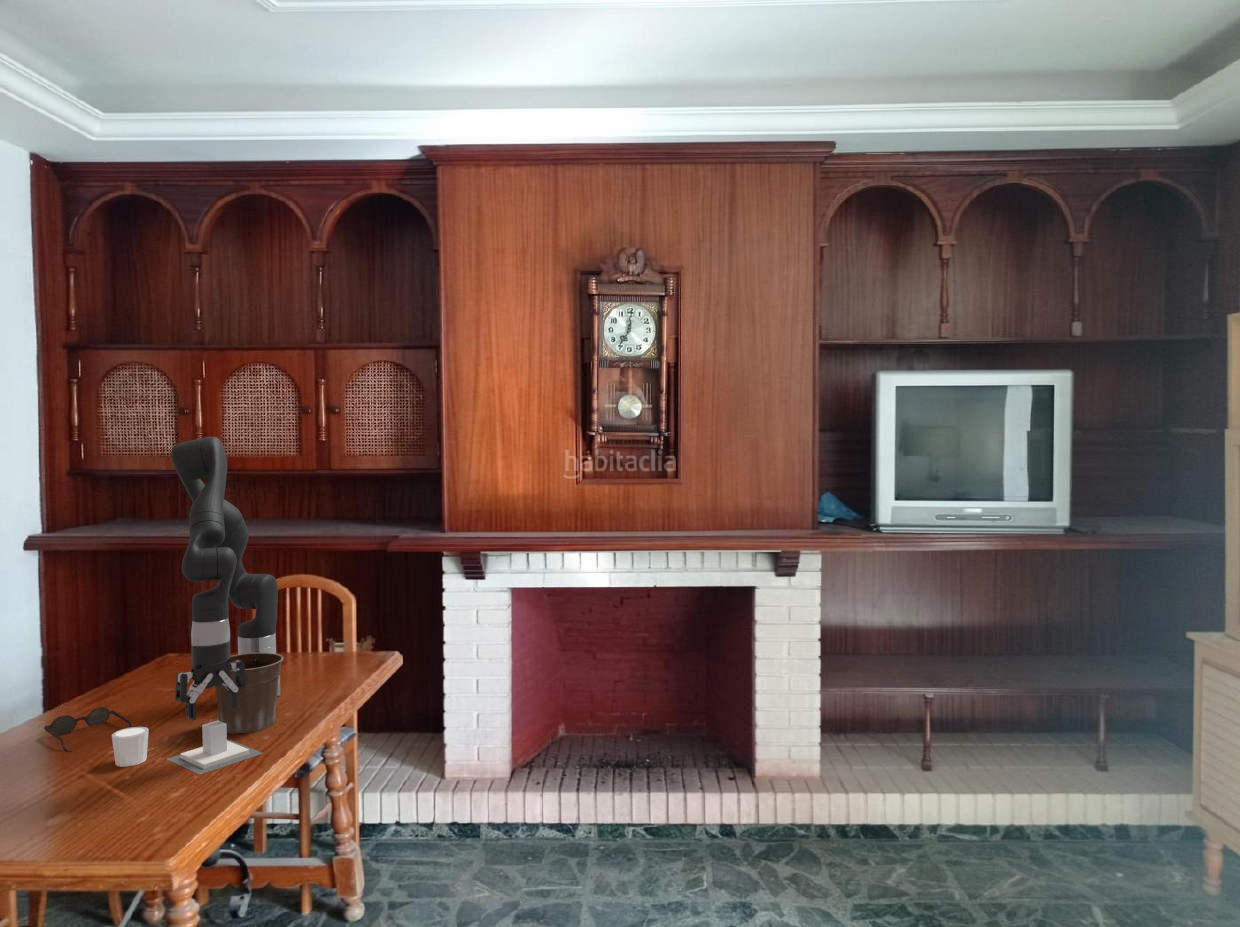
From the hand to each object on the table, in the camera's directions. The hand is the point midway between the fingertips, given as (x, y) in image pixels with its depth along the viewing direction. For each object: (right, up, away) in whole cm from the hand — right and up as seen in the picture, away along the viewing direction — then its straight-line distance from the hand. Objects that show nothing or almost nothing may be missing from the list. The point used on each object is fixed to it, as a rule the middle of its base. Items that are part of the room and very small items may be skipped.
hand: (212, 714), depth 181 cm
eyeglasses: (-35, -10, +15) cm, 40 cm away
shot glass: (-16, -10, -2) cm, 19 cm away
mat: (0, -10, +1) cm, 10 cm away
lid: (0, -9, +1) cm, 9 cm away
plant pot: (-1, -9, +20) cm, 23 cm away
